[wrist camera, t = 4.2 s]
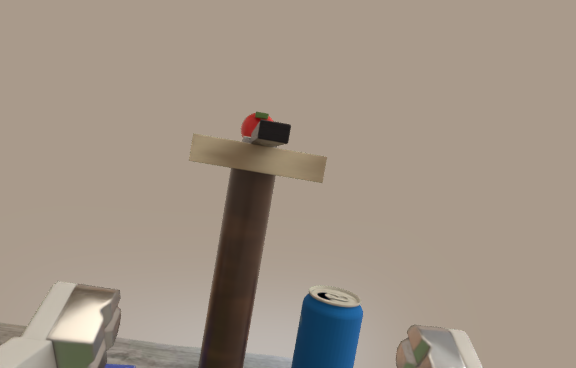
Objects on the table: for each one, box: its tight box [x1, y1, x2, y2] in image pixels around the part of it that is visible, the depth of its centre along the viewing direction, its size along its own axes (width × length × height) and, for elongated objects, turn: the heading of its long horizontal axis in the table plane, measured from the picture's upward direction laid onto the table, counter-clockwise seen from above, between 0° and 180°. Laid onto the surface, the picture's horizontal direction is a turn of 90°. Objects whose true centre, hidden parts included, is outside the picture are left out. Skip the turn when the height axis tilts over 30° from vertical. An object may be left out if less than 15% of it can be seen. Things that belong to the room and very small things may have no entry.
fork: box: [241, 112, 291, 148], centre depth 30 cm, size 3×20×3 cm, turn 7°
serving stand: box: [189, 134, 327, 368], centre depth 35 cm, size 12×12×26 cm
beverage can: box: [291, 286, 363, 368], centre depth 42 cm, size 6×6×12 cm
